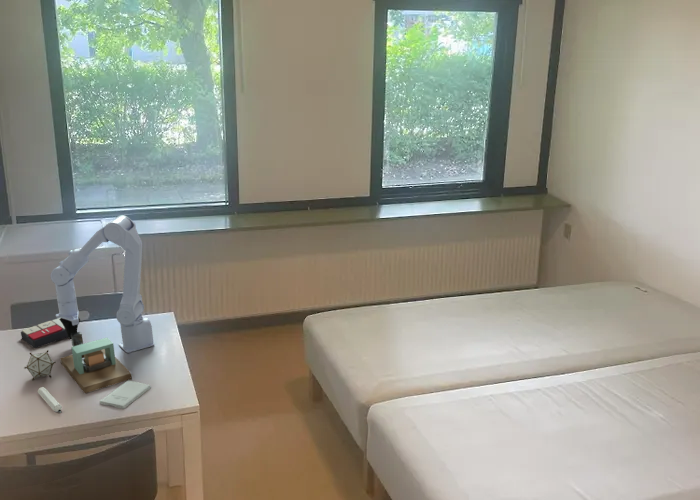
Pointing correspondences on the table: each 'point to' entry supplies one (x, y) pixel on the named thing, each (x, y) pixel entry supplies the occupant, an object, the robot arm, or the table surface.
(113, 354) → the tunnel
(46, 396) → the marker
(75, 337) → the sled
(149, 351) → the table surface
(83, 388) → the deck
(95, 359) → the block
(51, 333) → the sliding block puzzle
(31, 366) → the game die
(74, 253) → the robot arm
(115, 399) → the external hard drive
